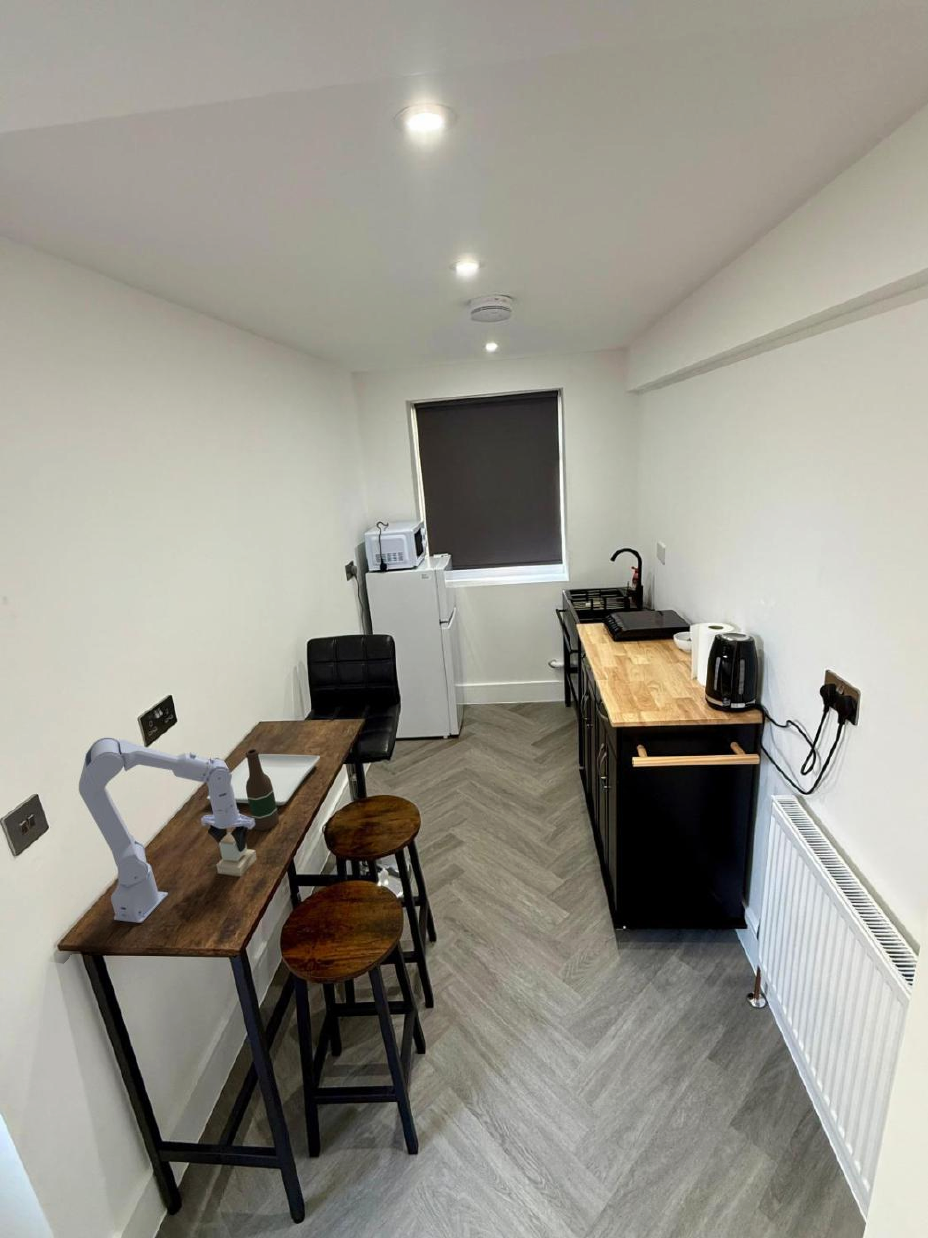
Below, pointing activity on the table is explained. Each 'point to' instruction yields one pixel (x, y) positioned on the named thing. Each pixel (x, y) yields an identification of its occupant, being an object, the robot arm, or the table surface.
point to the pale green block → (230, 848)
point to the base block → (237, 864)
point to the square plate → (274, 775)
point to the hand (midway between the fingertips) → (234, 848)
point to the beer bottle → (260, 794)
